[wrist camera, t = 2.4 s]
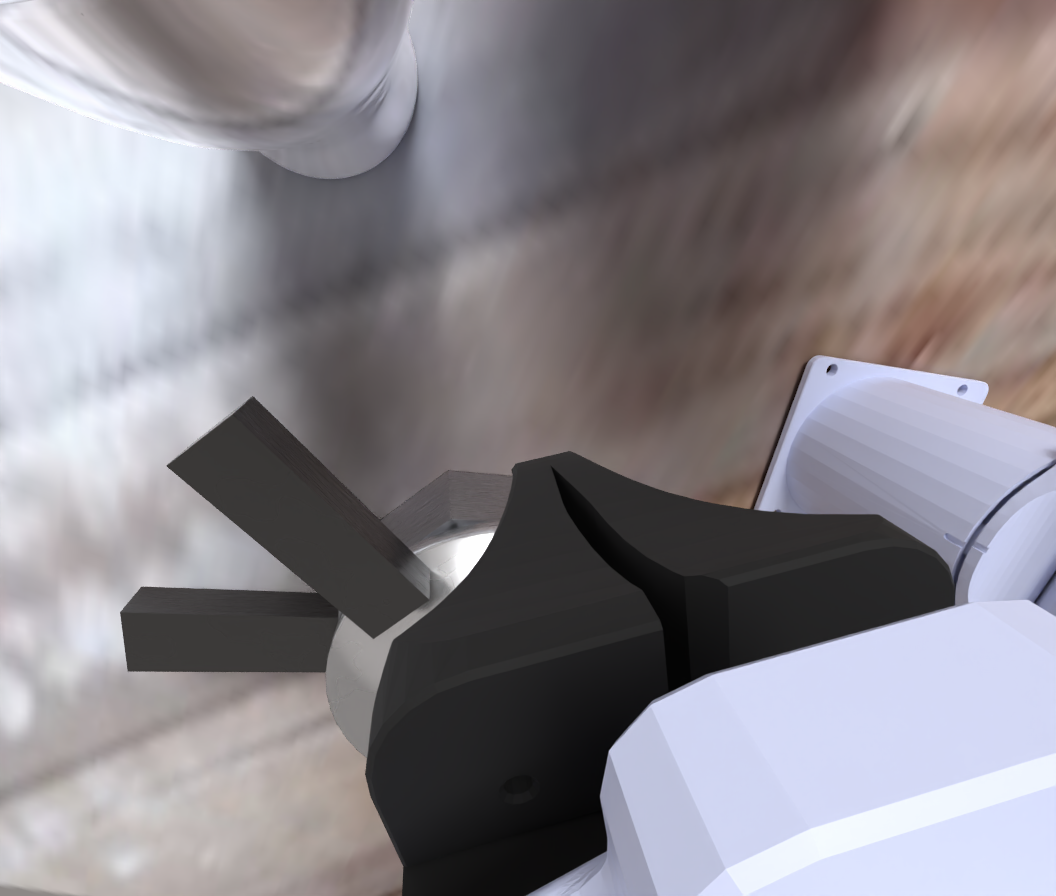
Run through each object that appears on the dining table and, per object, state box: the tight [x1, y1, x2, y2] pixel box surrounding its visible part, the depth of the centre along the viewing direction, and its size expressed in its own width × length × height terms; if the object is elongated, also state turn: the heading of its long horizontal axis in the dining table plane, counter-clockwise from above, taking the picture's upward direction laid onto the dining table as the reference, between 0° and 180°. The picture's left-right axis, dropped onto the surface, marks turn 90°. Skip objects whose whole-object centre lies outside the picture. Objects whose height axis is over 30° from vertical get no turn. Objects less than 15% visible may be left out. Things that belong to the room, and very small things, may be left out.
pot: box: [120, 470, 513, 672], centre depth 22 cm, size 21×12×4 cm, turn 80°
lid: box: [167, 396, 500, 758], centre depth 18 cm, size 19×12×2 cm, turn 35°
